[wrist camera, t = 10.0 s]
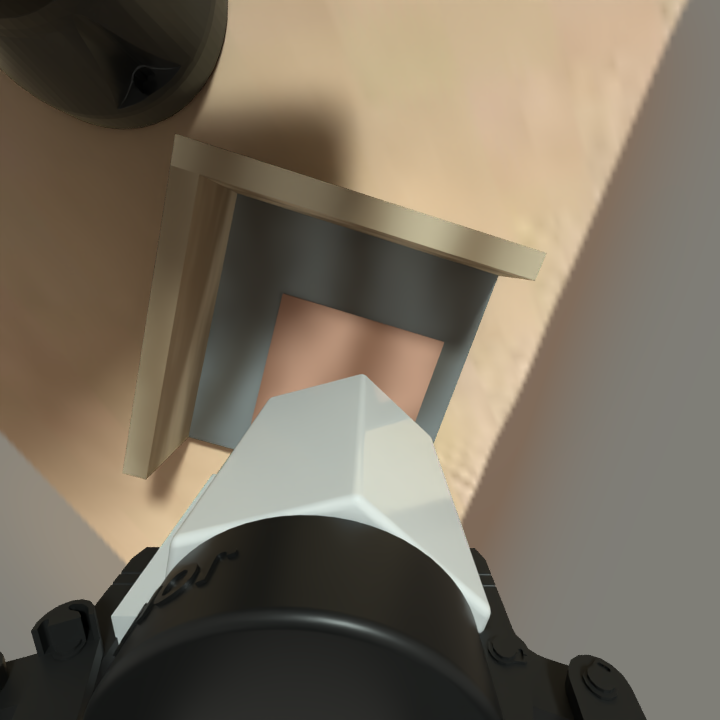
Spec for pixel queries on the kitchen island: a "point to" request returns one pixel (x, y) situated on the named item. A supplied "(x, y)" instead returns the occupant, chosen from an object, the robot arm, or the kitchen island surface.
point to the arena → (299, 300)
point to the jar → (314, 581)
